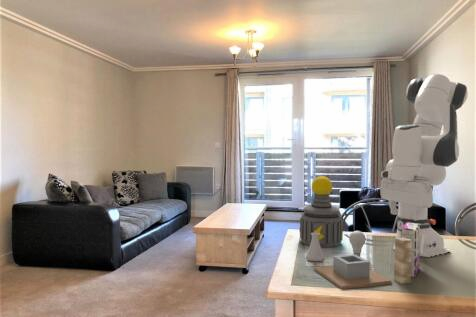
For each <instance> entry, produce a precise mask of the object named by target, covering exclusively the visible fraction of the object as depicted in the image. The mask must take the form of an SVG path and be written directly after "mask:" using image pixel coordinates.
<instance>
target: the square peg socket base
mask: <svg viewBox="0 0 476 317" xmlns="http://www.w3.org/2000/svg"><path fill="white" fill-rule="evenodd" d="M332 258H333V262H332V265H323V266H321V265H320V266H314V269H313V270H314V271H315V272H316V273H318V274H320V276H322V277H324V278H326V279H327V280H328V281H329V282H331V283H332V284H333V285H335V286H336V287H337V288H339V289H341V290H348V289H357V288H366V287H373V286H383V285H385V286H386V285H392V280H391V279H389V278H387V277H385V276H383V275H382V274H380V273H378V272H376V271H374V270H373V269H371V266H370V265H371V261H369V260H367V259H366V258H363V257H361V256H360V257H359V256H357V255H355V254H353V253H352V254H343V255H333V256H332Z"/></svg>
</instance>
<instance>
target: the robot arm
mask: <svg viewBox="0 0 476 317" xmlns="http://www.w3.org/2000/svg"><path fill="white" fill-rule="evenodd" d="M468 95H469V93H468V87H467V85H465V84H463V83H461V82H455V81H451V80H450V79H449V78H448V76H446V75H444V74H440V73H434V74H431V75H429V76H428V77H426V78H422V77H418V78H414V79H412V80H411V81H410V82H409V83H408V85H407V87H406V99H407V101H408V102H410V103H412V104H414V110H415V113H416V115H415V117H414V120H413V124H400V125H397V126H396V127H394V128H395V129H394V131H393V133H394V134H393V137H392V146H391V148H392V149H391V153H392V159H390V160H389V161H388V162H387V164H386V165H385V170H383V171H381V172H380V177H381V178H382V179H381V181H380V191H379V192H380V197H381V199H383V200H387V201H388V205H389V209H390V214H391V215H394V216H395V215H397V217H396V227H397V229H396V235H395V238H401V229H402V227H403V226H404V225H405V223H406V222H409V223H417V224H420V248H419V257H425V258H431V256H432V257H436V256H435V255H437V256H440V255H439V254H442V255H445V254H444V253H447V252H450V253H451V250H450V249H449V248H448V247H446V246H445V242H444V238H443V236H442V235H441V234H439V233H438V232H437V231H436V230H434V229H433V228H432V227H431V225H435V224H436V219H432V218H430V219H429V218H428V208H430V209H431V207H432V206H433V204H434V197H433V196H434V195H433V188H432V187H434V186H439V185H442V183H443V182H444V181H445V179H446V177H447V169H446V168H447V167H450V166H452V165H453V164H455V163H456V162H457V161H458V159H459V156H460V145H459V141H458V117H457V110H459V109H460V108H462V106H463V105H464V104H465V103H466V101H467V98H468ZM442 130H443V132H442ZM441 133H442V134H441ZM397 203H398V205H397ZM397 206H398V208H397ZM392 249H393V250H394V251H395V243H394V245H393V247H392ZM447 254H448V253H447Z"/></svg>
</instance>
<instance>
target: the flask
mask: <svg viewBox="0 0 476 317" xmlns="http://www.w3.org/2000/svg"><path fill="white" fill-rule="evenodd" d="M311 235H312V240H311V244H310V246H308V247H309V248H308V250H307V253H306V254H305V259H306V260H307V261H311V262H323V261H324V260H325V257H324V254H323V250H322V248H321V247H320V244H319V235H320V234H319V233H311Z"/></svg>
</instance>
